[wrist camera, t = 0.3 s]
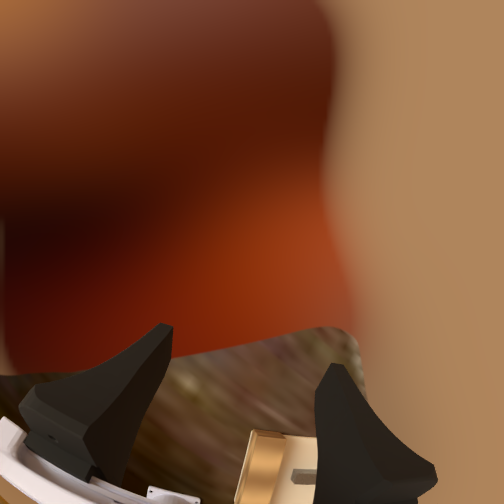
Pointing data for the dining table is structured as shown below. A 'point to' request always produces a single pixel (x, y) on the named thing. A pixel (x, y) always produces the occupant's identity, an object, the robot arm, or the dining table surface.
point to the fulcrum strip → (304, 476)
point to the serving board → (294, 457)
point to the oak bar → (261, 467)
